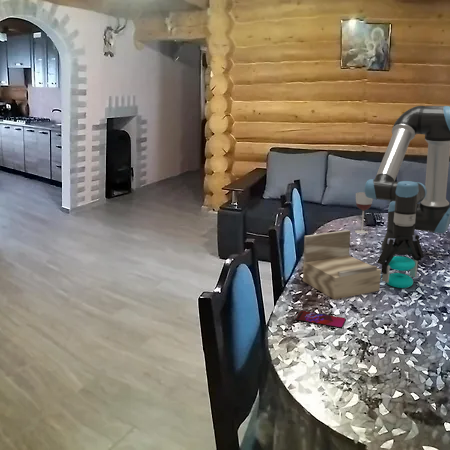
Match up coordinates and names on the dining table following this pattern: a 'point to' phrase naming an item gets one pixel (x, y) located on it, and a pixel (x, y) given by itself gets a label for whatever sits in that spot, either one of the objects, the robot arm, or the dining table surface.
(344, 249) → the display stand
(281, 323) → the dining table surface
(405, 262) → the donuts
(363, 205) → the wineglass
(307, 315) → the smartphone
